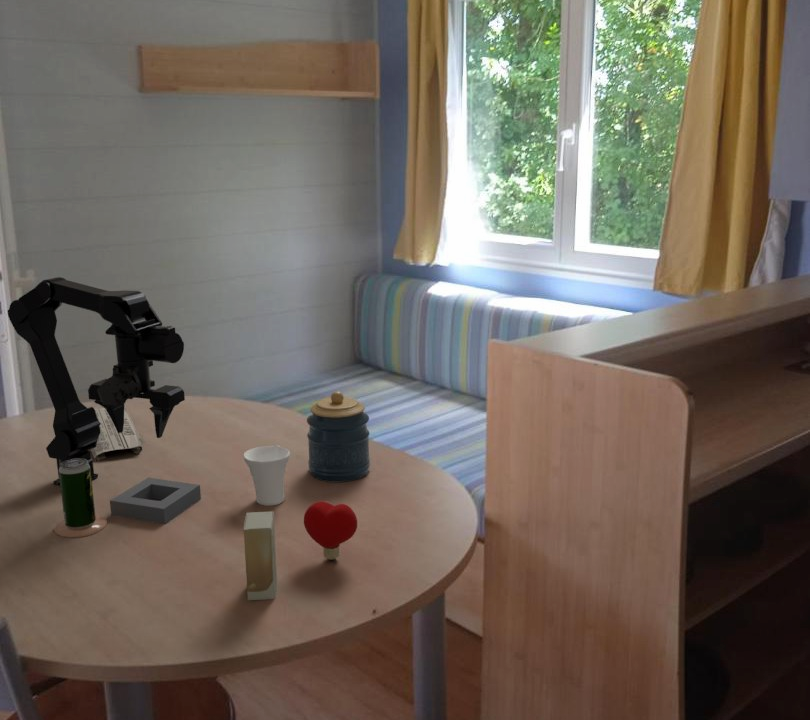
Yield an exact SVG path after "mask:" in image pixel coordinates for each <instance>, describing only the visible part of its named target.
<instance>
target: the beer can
mask: <svg viewBox="0 0 810 720" xmlns="http://www.w3.org/2000/svg"><path fill="white" fill-rule="evenodd" d="M59 466H60V468H59V477H58V479H59V478H60V485H59V486H60V493H61V495H60V496H61V501H62V502H61V503H62V510H63V520H65V525H66V527H67V528H68V529H70V530H83V529H87V528H89V527H91V526H93V525H94V523H95V520H96V516H95V515H96V508H95V501H94V500H95V499H94V491H93V490H94V489H93V482H92V481H93V480H92V479H91V470H90V465H89V464H88V460H86V459H80V458H78V459H70V460H66V461H63V462H62V463H60V465H59Z"/></svg>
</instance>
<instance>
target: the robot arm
mask: <svg viewBox="0 0 810 720" xmlns="http://www.w3.org/2000/svg"><path fill="white" fill-rule="evenodd" d="M146 297H147V296H146V294H145V293H144V292H141V291H139V290H113V291H112V290H105V289H102V288H98V287H94V286H90V285H86V284H83V283H79V282H74V281H71V280H67V279H66V278H64V277H61V276H60V277H59V276H57V277H53V278H48V279H47V278H46V279H44V280H43V279H42V281H40V282H39V283H38V284H37V285H36V286H35V287H34V288H33V289H31V290H29V291H28V292H26V293H24V294H23V295H22V296H21V297H19V298H18V299H15V300H13V301H11V303H10V304H9V307H8V309H7V315H8V319H9V321H10V323H11V325H12V327H13V329H14V330H15V332H16V334H17V335H18V336H20V337H21V338H22V339H23V340H24V341H26V342H27V343H28V344H29V347H30V348H31V351H32V353H33V356H34V359H35V361H36V365H37V367H38V369H39V372H40V374H41V377H42V379H43V380H42V381H43V382H44V384H45V388H46V390H47V392H48V395H49V398H50V400H51V404H52V406H53V408H54V417H53V422H52V429H53V432H54V433H53V434H54V438H53V439H52V440H51V441H50V443H49V444H48V445H47V446H46V448H45V449H46V452H47V454H48V457H49V458H51V459H55V460H56V467H57V474H58V475H57V476H58V478H57V479H55V480H53V485H59V486H60V478H59V468H60V466H59V465H60V463H62V462H63V461H66V460H70V459H78V458H80V459H86V460H88V464H89V465H90V470H91V479H92V481H93V480H95V479H97V478H98V477H99V474H98V473H94V472H95V470H94V461H93V458H92V452H91V450H90V449H92V448H95V447H96V445H97V440H98V438H99V434H100V427H99V425H101V423H100V422H99V420H98V418H97V416H96V412H95V409H96V408H94V407H93V406H90V407H87V406H86V405H84V403H82V402H81V401H80V399H79V396H78V393H77V390H76V388H75V386H74V383H73V381H72V378H71V375H70V373H69V370H68V368H67V365H66V362H65V359H64V357H63V354H62V352H61V348H60V346H59V344H58V341H57V339H56V330H57V323H58V320H57V315H56V311H57V310H58V309H59V308H60V307H61V306H62V304H65V305H69V306H72V307H76V308H79V309H80V308H81V309H82V310H83V309H84V310H87V311H91V312H94V313H97V314H99V316H100V317H101V319H102V320H104V321H106V322H108V323H110V324H111V325H110V326H109V327H108V328H107V329H106V330H105V334H106V335H109V336H110V335H111V336H114V338H115V349H116V350H115V351H116V359H117V360H116V362H117V364H114V365H113V368H112V376H110V377H109V378H104V379H102V380H99V381H96V382H94V383H91V384H90V385H89V388H88V390H87V394H88V399H89V400H93V402H94V403H95V404H96V405H99V406H101V407H102V408H105V409H106V411H107V412H108V414H109V416H110V418H111V420H112V422H113V424H114V426H115V428H116V430H117V432H118V433H121V432H123V427H124V409H125V404H126V402H127V400H133V399H134V398H136V399H144V400H149V403H150V405H151V407H149V408H148V409H149V410H150V412H152V413H153V417H154V428H155V435H156V438H157V439H161V438H162V436H163V434H164V431H165V430H166V426H167V424H168V422H169V419H170V416H171V414H172V412H173V410H174V408H175V406H178V405H180V403H182V402H185V400H186V398H185V390H184V389H183V388H182V387H181V386H178V385H177V386H176V385H166V384H165V385H163V386H161V387H159V388H156V389H153V387H155V385H156V383H155V380H153V379H152V380H151V376H150V374H151V373H150V372H151V371H150V367H152V366H154V362H160V363H166V364H167V363H168V364H169V363H170V364H176V363H177V362H179V361H180V360H181V359H182V356H183V355H184V349H185V344H184V343H185V342H184V341H183V339H182V337H181V335H180V334H179V333H177V332H176V327H175V326H174V325H173V326H172V325H168V326H167V325H166V326H163V322H162V320H161V319H160V317H159V315H158V314H157V313H156V311H155V310H154V309H153V306H152V305H151V304H150V302H149V300H148V299H147V298H146Z"/></svg>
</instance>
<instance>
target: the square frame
mask: <svg viewBox="0 0 810 720" xmlns="http://www.w3.org/2000/svg"><path fill="white" fill-rule="evenodd" d="M154 499H155V500H154ZM200 500H202V494H201V484H196V483H190V482H189V483H188V482H182V481H175V480H169V479H168V480H167V479H161V478H154V477H147V478H145V479H143V480H141V481H140V482H139V483H137V484H135V485H133V486H131V487H130V488H128V489H127V490H125V491H123V492H121V493H120V494H118V495H116V496H114V497H113V498H112V499H110V500H109V505H110V515H111V516H114V517H121V518H125V519H132V520H139V521H145V522H151V523H158V524H164V525H166V524H167V523H169V522H170V521H172V520H174V519H175V518H176V517H178V516H179V515H181V514H182V513H183V512H184V511H187V509H189V508H190V507H192V506H194V504H196V503H197V502H198V501H200Z"/></svg>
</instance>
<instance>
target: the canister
mask: <svg viewBox="0 0 810 720" xmlns="http://www.w3.org/2000/svg"><path fill="white" fill-rule="evenodd" d="M365 408H366V407H365V405H364V404H363V403H361V402H360V401H358V400H357V398H356V399H355V398H354V397H349V396H344V394H343V393H342V392H341V391H339V390H338V391H333V392H332V394H331V395H330V397H325V398H321V399H319V400H318V401H317V402H316V403H314V404H312V405H311V406H310V408H309V411H310V412H311V413H310V415H308V416H307V418H306V423H307V424H308V425H309V430H308V431H307V434H306V436H307V439H308V442H307V443H308V463H307V464H308V469H309V473H310V476H312V477H313V478H315V479H317V480H319V481H324V482H332V483H336V482H337V483H342V482H343V483H344V482H350V481H355V480H358V479H361V478H363V477H365V476H366V475H367V474H368V473H369V471H370V466H371V463H370V462H371V458H370V447H369V446H370V442H369V439H370V438H369V437H370V431H369V429H368V427H367V423H369V421H370V417H369V415H368V414H367V413H366V412H364V411H365V410H366V409H365Z"/></svg>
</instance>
